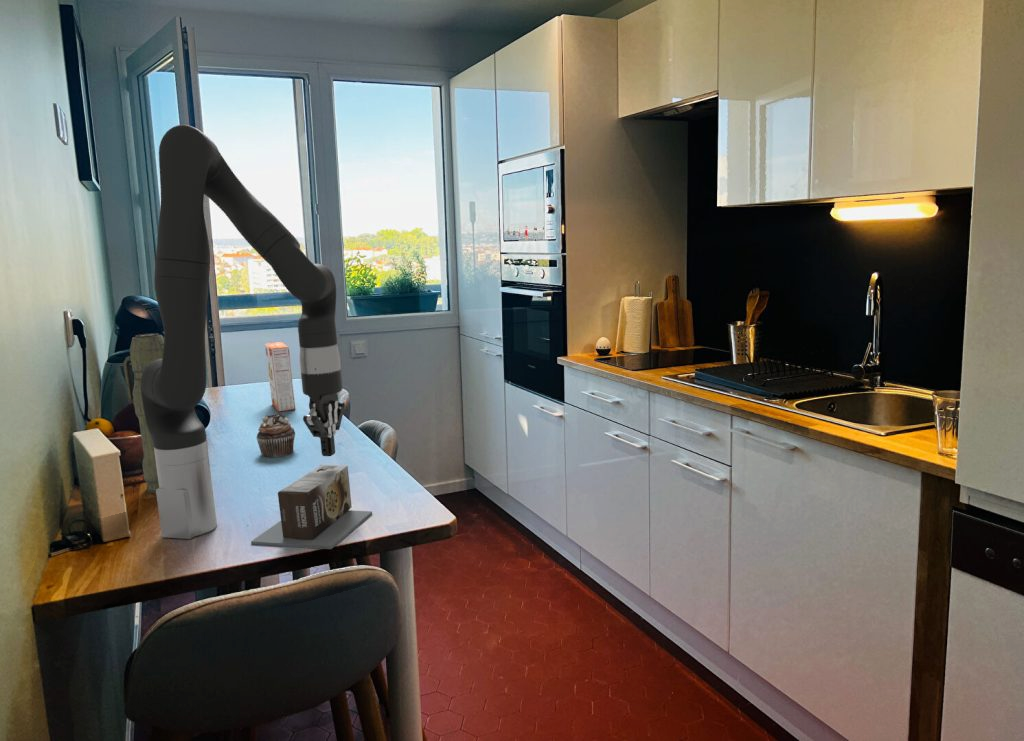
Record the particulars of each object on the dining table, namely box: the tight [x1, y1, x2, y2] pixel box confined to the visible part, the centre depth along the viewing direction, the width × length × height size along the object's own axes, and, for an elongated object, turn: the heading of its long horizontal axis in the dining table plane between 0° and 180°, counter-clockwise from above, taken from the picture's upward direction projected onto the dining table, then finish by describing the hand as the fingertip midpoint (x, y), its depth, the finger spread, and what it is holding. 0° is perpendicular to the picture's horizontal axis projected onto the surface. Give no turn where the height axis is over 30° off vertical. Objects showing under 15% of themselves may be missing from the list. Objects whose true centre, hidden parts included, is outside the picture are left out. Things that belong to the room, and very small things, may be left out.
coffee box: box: [277, 464, 352, 540], centre depth 144 cm, size 9×6×16 cm
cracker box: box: [264, 341, 296, 413], centre depth 248 cm, size 14×6×21 cm, turn 25°
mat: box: [250, 509, 373, 550], centre depth 144 cm, size 17×16×1 cm
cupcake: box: [256, 412, 296, 458], centre depth 196 cm, size 10×10×10 cm
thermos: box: [122, 333, 164, 494], centre depth 170 cm, size 9×12×35 cm
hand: (328, 455), depth 149 cm, fingers closed
